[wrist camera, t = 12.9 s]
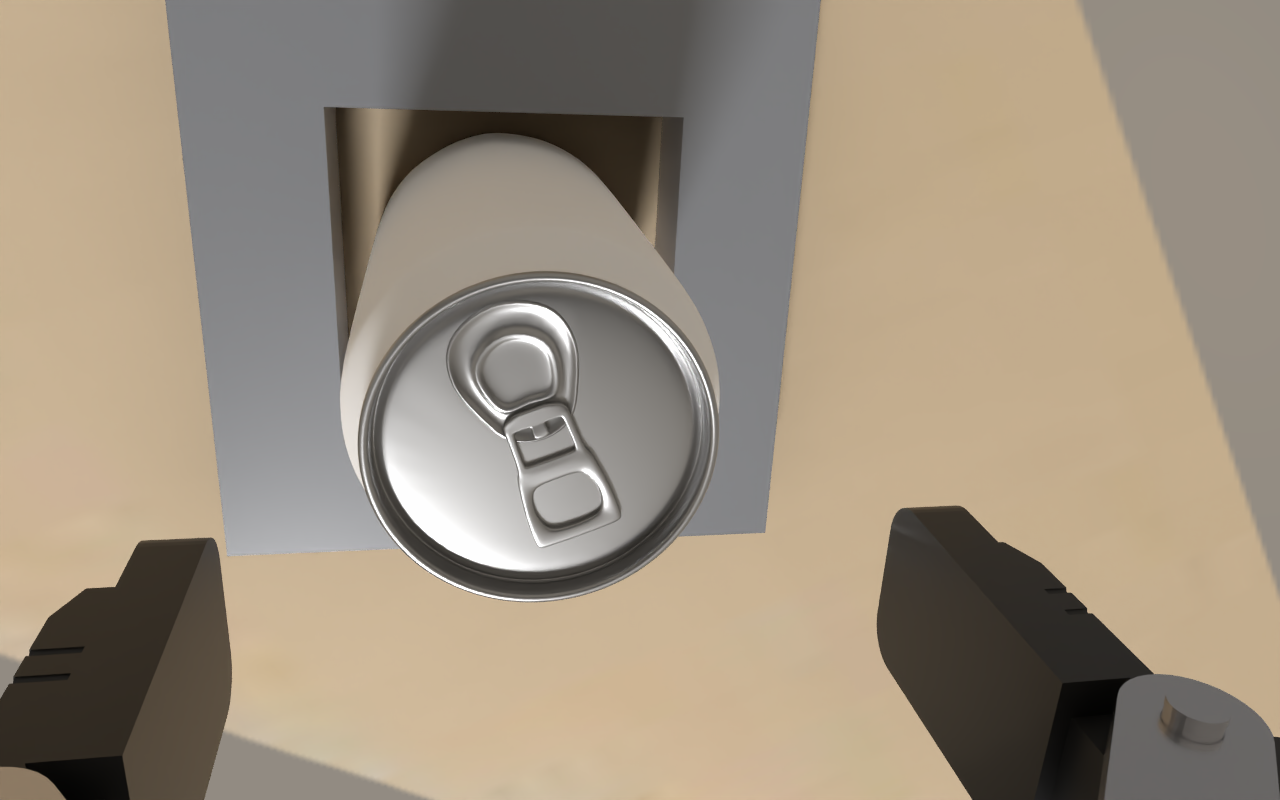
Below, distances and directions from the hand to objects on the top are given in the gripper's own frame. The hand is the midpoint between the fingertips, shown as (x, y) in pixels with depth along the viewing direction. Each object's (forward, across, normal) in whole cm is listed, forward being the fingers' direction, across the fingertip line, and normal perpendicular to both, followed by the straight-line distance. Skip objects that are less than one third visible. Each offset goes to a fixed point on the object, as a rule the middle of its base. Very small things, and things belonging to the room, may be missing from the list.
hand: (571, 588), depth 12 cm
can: (+16, 0, 0) cm, 16 cm away
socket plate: (+16, 0, 0) cm, 16 cm away
